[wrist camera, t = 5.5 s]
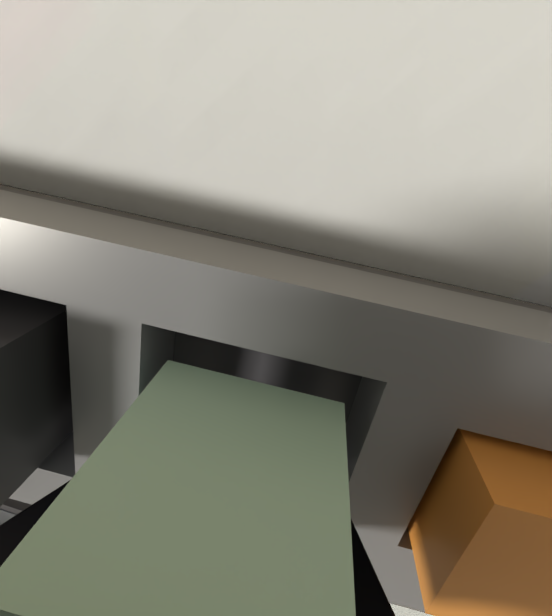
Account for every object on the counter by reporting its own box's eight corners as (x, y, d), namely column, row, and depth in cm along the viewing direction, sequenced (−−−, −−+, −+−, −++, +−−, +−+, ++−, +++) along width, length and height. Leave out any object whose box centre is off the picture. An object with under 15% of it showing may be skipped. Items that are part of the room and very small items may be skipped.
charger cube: (304, 524, 11) (280, 844, 6) (157, 485, 11) (12, 760, 6) (344, 403, 9) (361, 718, 4) (167, 359, 9) (-31, 603, 4)
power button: (601, 450, 10) (699, 556, 7) (531, 544, 11) (590, 658, 9) (452, 414, 10) (494, 503, 7) (404, 511, 12) (425, 613, 9)
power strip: (658, 331, 10) (953, 488, 5) (503, 551, 14) (591, 754, 9) (-115, 158, 12) (-436, 160, 7) (-57, 404, 16) (-231, 516, 11)
